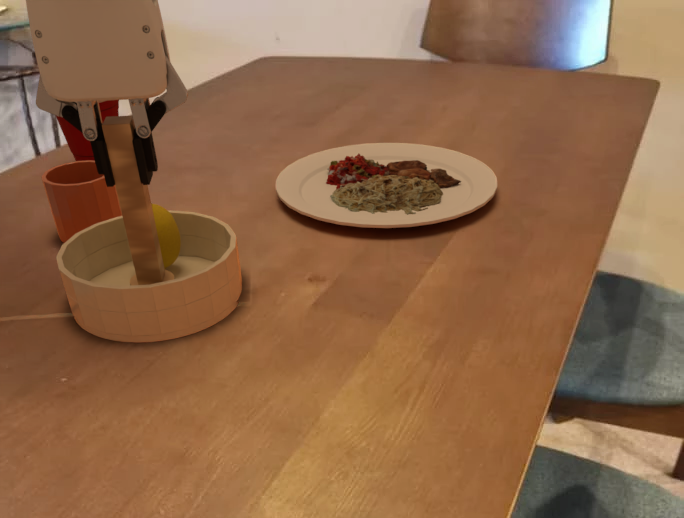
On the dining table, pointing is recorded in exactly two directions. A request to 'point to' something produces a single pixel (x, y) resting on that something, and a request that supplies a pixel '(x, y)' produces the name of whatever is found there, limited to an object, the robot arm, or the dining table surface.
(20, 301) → the dining table surface
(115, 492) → the dining table surface
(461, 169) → the plated food
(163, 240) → the lemon
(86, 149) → the plastic cup
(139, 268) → the wooden stirring stick
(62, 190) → the crock
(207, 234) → the bowl
